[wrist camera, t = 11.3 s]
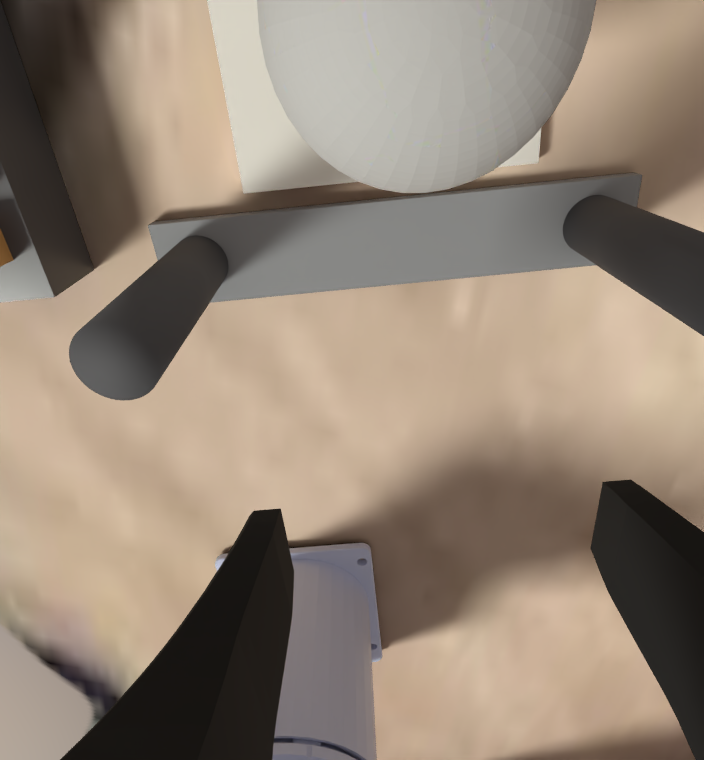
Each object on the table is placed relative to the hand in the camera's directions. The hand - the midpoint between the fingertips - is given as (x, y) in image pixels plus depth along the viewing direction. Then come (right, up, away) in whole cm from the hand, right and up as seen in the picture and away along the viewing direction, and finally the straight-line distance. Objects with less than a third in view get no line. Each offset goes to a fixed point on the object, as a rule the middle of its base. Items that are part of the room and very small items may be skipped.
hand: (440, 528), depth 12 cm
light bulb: (-1, +13, +4) cm, 14 cm away
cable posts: (-1, +9, +7) cm, 11 cm away
